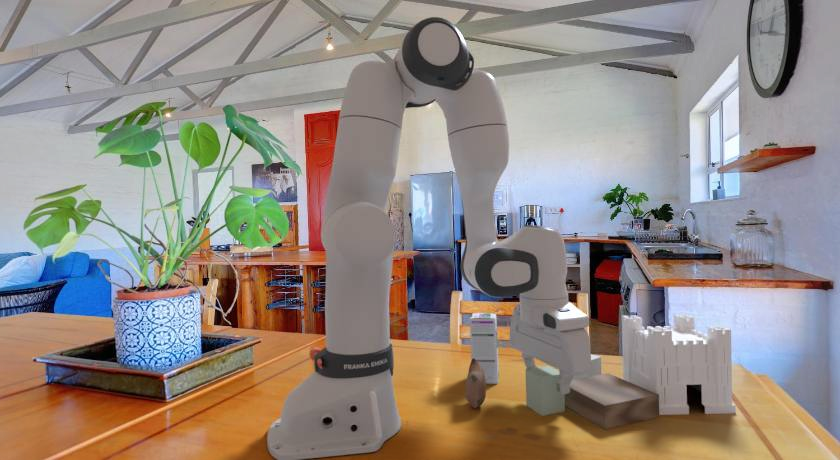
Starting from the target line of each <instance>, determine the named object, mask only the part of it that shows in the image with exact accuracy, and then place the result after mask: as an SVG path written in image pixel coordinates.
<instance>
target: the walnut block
mask: <svg viewBox="0 0 840 460" xmlns="http://www.w3.org/2000/svg"><path fill="white" fill-rule="evenodd" d="M565 408H568V409H570V410H572V411H574V412H575V413H576V414H579V415H580V416H582V417H583V418H585V419H587V420H589V421H590V422H591V423H594V424H595V425H597V426H599V427H600V428H602V429H604V430H609V429H613V428H618V427H622V426H626V425H631V424H635V423H639V422H643V421H647V420H648V421H649V420H652V419H656V418H657V419H658V418H660V415H659V394H656V393H654V392H652V391H649V390H647V389H644V388H642V387H640V386H637V385H635V384H633V383H630V382H628V381H625V380H623V378H620V377H618V376H616V375H613V374H611V373H609V372H608V373H603V374H602V373H601V375H596V376H590V377H585V378H579V379H573V380H572V381H571V383H570V392H569V393H568V394H565Z"/></svg>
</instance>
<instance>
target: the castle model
mask: <svg viewBox="0 0 840 460" xmlns="http://www.w3.org/2000/svg"><path fill="white" fill-rule="evenodd" d="M621 339H622V341H621V345H622V348H621V349H622V379H623V380H625V381H628V382H630V383H633V384H635V385H637V386H640V387H642V388H644V389H647V390H649V391H652V392H654V393H656V394H659V416H661V415H662V416H663V415H664V416H665V415H669V416H670V415H690V406H689V404H688V394H687V389H688V388H687V386H690V385H691V386H690V387H692V388H693V387H694V388H693V389H696V390H697V391H699V393H701V405H702V406H704V414H706V415H709V414H711V415H713V414H716V415H717V414H721V415H722V414H737V413H736V412H737V409H736V407H737V406H736V405H735V404H734V403H733V379H732V378H733V374H732V373H733V369H732V368H733V367H732V363H733V362H732V329H730V328H727V327H725V326H719V325H718V326H717V325H715V326H713V325H712V326H707V333H704V332H702V331H698V330H696V329H695V317H694V316H692V315H690V314H685V313H684V314H683V313H682V314H673V326H672V327H671V326H670V325H663V326H661V325H655V327H654V326H651V325H650V326H647V325H646V329H645V326H643V318H642V317H639V316H638V315H636V314H634V315H621Z"/></svg>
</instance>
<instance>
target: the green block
mask: <svg viewBox="0 0 840 460" xmlns="http://www.w3.org/2000/svg"><path fill="white" fill-rule="evenodd" d="M561 377H562V375H560V374H559V369H556V368H554V367H552V366H550V365H544V366H536V368H530V369H526V368H525V396H526V397H525V398H526V399H525V401H526V402H525V403H526V404H525V405H526V406H527V407H528V408H530V409H531V410H532V411H534V412H535V413H537V414H538V415H540V416H542V417H544V416H548V415H553V414H559V413H562V412H563V413H564V412H566V406H565V394H562V393H560V392H558V391H557V384H556V382H560V380H561Z"/></svg>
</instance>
